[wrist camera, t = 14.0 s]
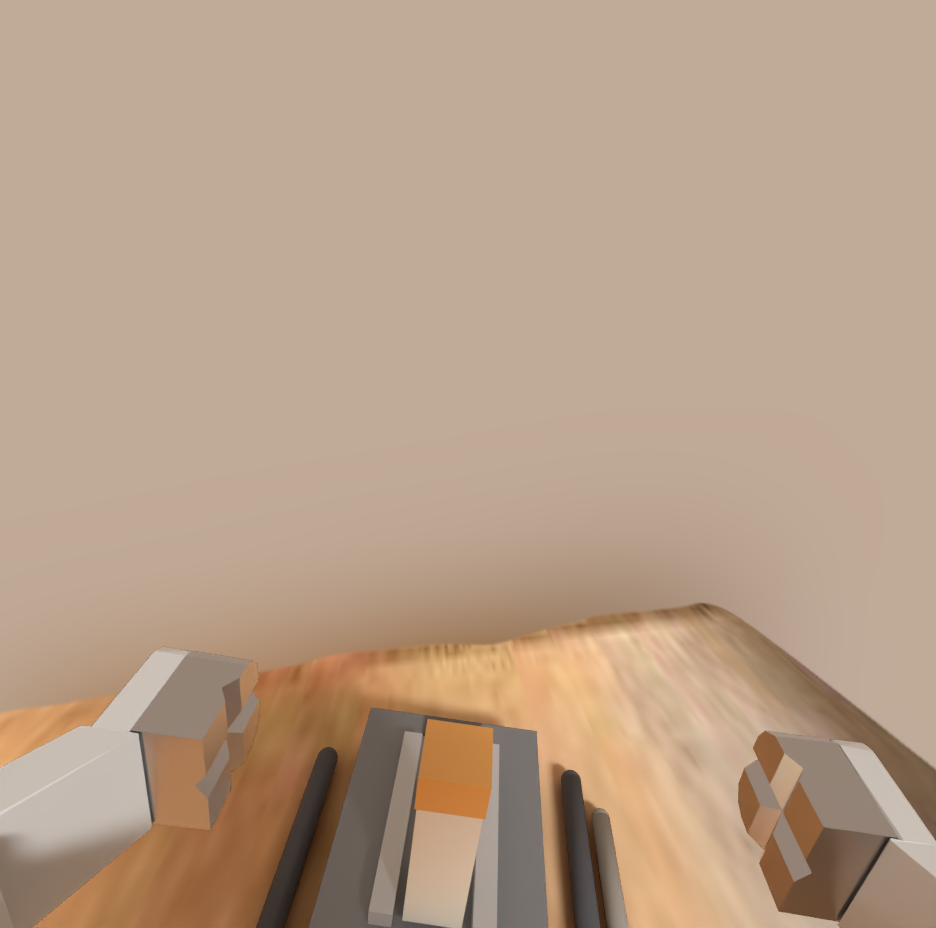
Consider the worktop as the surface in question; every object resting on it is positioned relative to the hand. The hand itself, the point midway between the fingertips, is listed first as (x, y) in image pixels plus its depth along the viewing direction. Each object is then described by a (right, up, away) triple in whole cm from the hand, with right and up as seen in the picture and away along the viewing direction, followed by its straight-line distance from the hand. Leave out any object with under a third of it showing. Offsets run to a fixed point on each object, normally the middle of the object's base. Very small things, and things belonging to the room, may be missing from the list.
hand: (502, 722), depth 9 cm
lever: (-2, -18, +21) cm, 28 cm away
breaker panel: (-3, -21, +26) cm, 33 cm away
